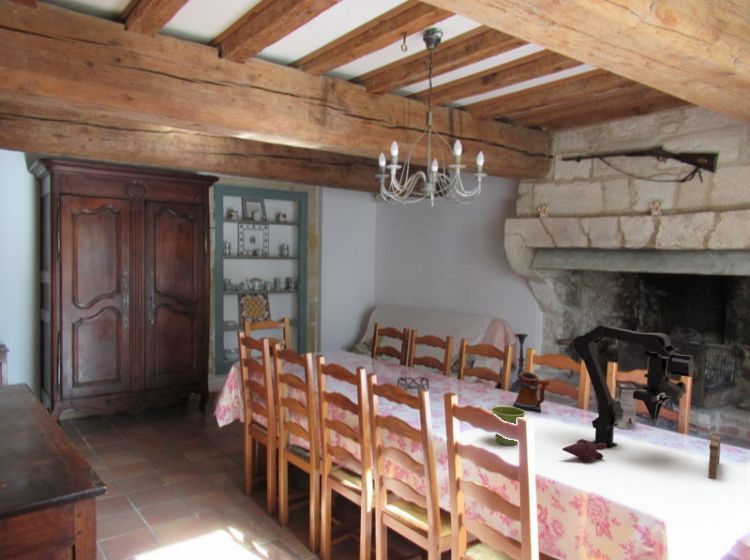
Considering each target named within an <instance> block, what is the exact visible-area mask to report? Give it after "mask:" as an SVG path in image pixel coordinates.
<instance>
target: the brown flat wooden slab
mask: <svg viewBox="0 0 750 560" xmlns="http://www.w3.org/2000/svg"><path fill="white" fill-rule="evenodd" d="M715 433H716V432H712V434H711V438H710V442H709V461H708V477H711V478H717V477H716V476H717V471H718V465H719V464H718V456H719V442H720V433H718V434H715Z"/></svg>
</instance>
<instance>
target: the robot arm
mask: <svg viewBox="0 0 750 560" xmlns="http://www.w3.org/2000/svg"><path fill="white" fill-rule="evenodd" d="M604 338H610V339H614V340H617V341H622V342H626V343H627V342H628V343H632V344H636V345H638V346H640V347H641V348H644V349H645V351H644V352H643V353H641V355H640V356H641V357H643V358H647V370H646V372H647V373H644V378H646V385H644V386H643V389H642V388H641V389H640V388H639V389H637V390H636V391H634V392H633V399H637V401H641V402H643V403H644V405H645V407H646V410H647V412H648V414H649V416H650V419H651V420H656V419H658V418H659V415H660V412H661V410H662V408H663V406H664V403H666V402H667V401H669V400H670V399H671V398H672V399H673V400H679V399H682V398H683V396H684V394H686V393H687V387H686V386H687V385H686V383H685V382H683V381H678V382H675V381H674V382H673V381H671V377H670V375H668V373H667V372H669V373H670V374H671V375H675V376H682V377H686V378H687V377H688V378H692V377H693V375H694V372H695V363H694V360H693V355H691V354H679V353H678V352H677V351H676V349H675V348H674V346H673V345H672V342H671V338H670V337H669V335H668V334H666V333H662V332H641V331H640V332H639V331H636V330H635V331H634V330H630V329H626V328H625V329H624V328H621V327H617V326H611V325H609V324H599V325H597V326H596V327H595V328H593V329H592V330H590V331H588V332H586V333H585V334H583V335H578V336H576V337H574V339H573V341H572V346H573V349H574V350H575V352H576V354H577V355H578V357H579V358H580V359H582V361H583V363H584V365H585V368H586V370H587V374H588V376H589V379H590V381H591V385H592V387H593V390H594V393H595V396H596V399H597V413H598V414H597V415H598V417H596V418H595V419H594V420H592V421H591V424H592V428H593V429H595V433H594V435H595V437H594V440H592V441H590V442H592V443H593V444H594V445H596V444H598V443H605V444H606V446H607V447H606V448H605V449H609V448H613V447H615V446H618V443H617V442H614V436H615V435H614V432H615V430H614V429H615V427H617V424H618V422H620V421H621V420H622V418H623V412H624V410H623V409H622V407H621V403H620V401H615V398H613V397H612V394H611V392H610V389H609V386H608V383H607V380H606V377H605V375H604V372H603V369H602V367H601V365H600V361H599V359H598V350H599V349H598V345H597V344H598V343H600V342H601V341H603V340H604ZM667 395H668V396H670V397H671V398H670V397H667Z"/></svg>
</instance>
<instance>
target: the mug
mask: <svg viewBox="0 0 750 560" xmlns="http://www.w3.org/2000/svg"><path fill="white" fill-rule="evenodd" d="M517 375H518V379H519V380H518V384H519V390H518V395H517V396H516V399H515V401H514V402H513V407H514V408H519V409H522V410H524V411H525V412H526V411H528V412H537V413H541V412H542V409H541V406H542V405H541V404H542V403H544V402H545V397H546V396H545V390H546V386H549V385H550V383H551V382H550V381H549V380H540V379H539V377H538V375H536V374H535V373H533V372H530V371H520V372H518V374H517ZM539 385H541V387H539ZM539 388H540V389H539ZM538 389H539V397H538V394H537V393H538Z"/></svg>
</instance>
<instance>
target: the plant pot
mask: <svg viewBox="0 0 750 560" xmlns="http://www.w3.org/2000/svg"><path fill="white" fill-rule="evenodd" d="M490 411H491V412H492V413H491V414H493V413H494V414H496V415H497V416H498V417H500V418H501V419H502V420H504V421H507V422H510V423H514V424H516V418H517V417H523V418H524V416H525V415H526V414H527V413H526V411H525V410H522V409H519V408H516V407H514V406H513V407H512V406H508V405H507V406H506V405H505V406H504V405H502V406H501V405H499V406H494V407H491V408H490ZM495 441H496V442H497V443H498V444H499V445H501V444H503V445H504V446H505V445H506V446H515V445H516V444H518V442H517V441H514V440H508V439H505V438H503V437H502V436H500V435H498V434H495Z"/></svg>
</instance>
